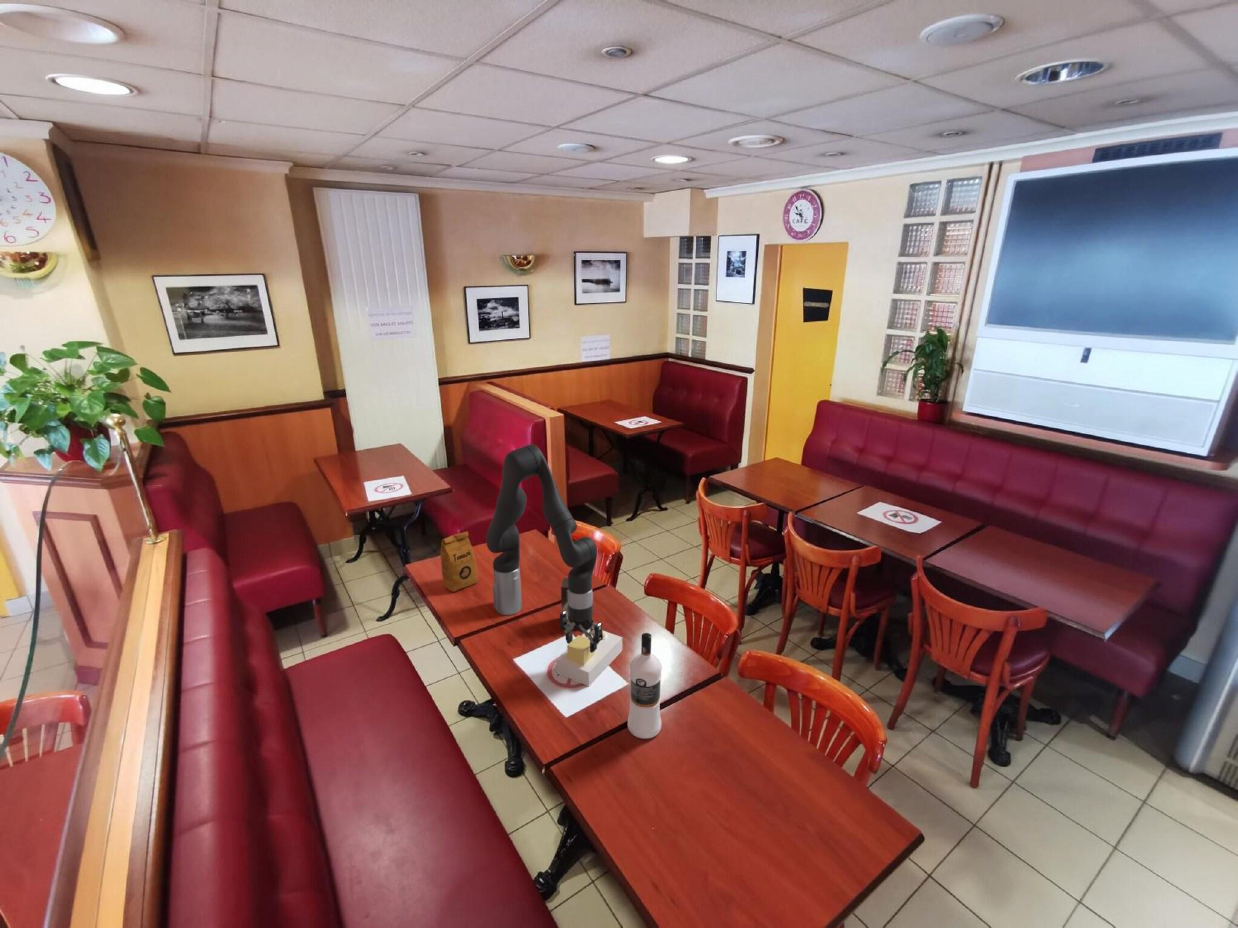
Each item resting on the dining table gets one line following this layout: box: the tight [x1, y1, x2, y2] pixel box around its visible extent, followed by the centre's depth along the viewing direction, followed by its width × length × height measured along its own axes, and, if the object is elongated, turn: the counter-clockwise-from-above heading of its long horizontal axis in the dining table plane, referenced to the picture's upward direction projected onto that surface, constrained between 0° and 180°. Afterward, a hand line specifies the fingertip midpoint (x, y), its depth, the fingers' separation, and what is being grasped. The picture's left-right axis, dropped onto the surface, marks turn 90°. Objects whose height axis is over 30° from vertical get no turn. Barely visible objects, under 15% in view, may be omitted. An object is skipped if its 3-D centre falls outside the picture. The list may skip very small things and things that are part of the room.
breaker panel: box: [555, 629, 623, 687], centre depth 186 cm, size 12×20×6 cm, turn 150°
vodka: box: [627, 632, 663, 740], centre depth 155 cm, size 9×9×30 cm
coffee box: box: [560, 577, 571, 626], centre depth 204 cm, size 9×6×16 cm
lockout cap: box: [566, 634, 595, 665], centre depth 180 cm, size 6×6×5 cm
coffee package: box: [440, 531, 479, 593], centre depth 227 cm, size 10×12×22 cm
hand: (581, 646), depth 180 cm, fingers open, 8 cm apart
